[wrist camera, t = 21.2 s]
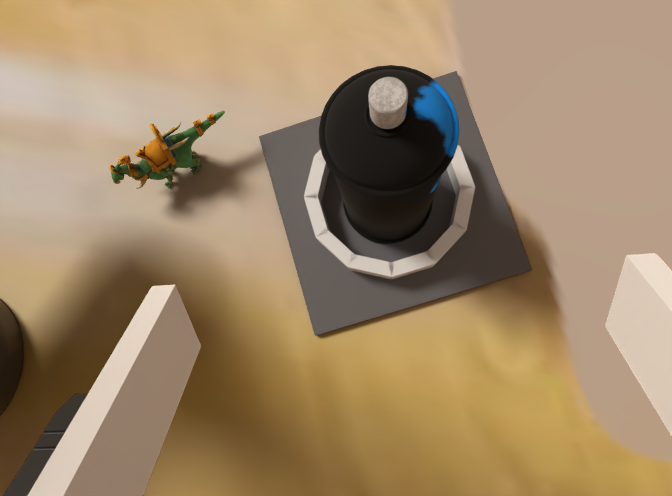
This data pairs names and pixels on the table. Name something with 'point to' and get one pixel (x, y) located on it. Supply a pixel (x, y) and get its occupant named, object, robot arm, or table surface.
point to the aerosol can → (388, 148)
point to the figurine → (164, 154)
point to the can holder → (392, 258)
